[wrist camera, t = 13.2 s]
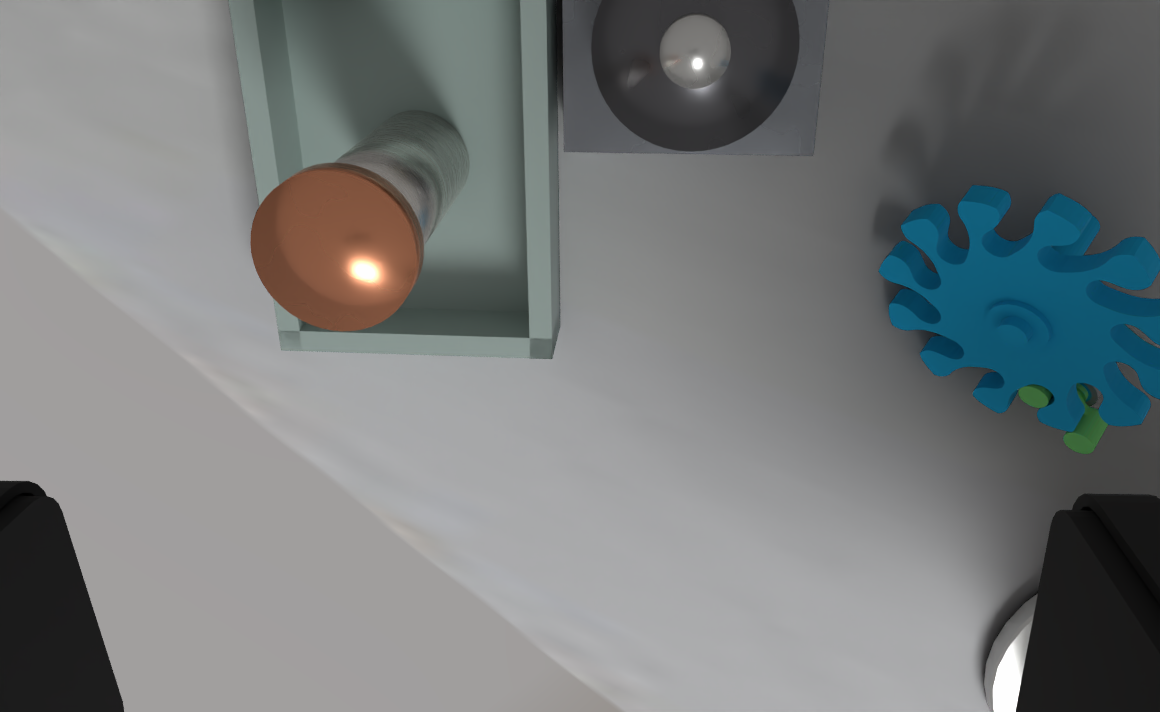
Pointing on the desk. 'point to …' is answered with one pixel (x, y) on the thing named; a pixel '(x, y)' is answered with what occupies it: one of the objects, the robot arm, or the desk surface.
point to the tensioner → (692, 76)
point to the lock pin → (359, 223)
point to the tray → (460, 96)
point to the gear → (1033, 311)
